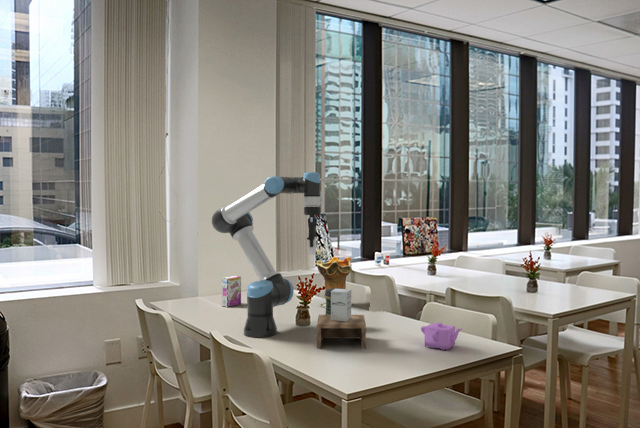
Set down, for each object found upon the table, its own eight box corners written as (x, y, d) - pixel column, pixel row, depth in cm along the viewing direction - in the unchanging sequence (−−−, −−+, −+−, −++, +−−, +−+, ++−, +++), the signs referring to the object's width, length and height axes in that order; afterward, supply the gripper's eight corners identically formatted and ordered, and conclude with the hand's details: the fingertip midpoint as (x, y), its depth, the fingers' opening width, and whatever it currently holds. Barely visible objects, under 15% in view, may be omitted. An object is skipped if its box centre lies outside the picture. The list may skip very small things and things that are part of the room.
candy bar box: (227, 307, 307) (227, 278, 307) (221, 306, 310) (221, 277, 310) (241, 304, 316) (241, 276, 316) (235, 303, 319) (235, 275, 319)
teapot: (467, 347, 225) (467, 322, 225) (457, 355, 214) (457, 329, 213) (426, 341, 235) (426, 317, 235) (414, 348, 223) (414, 324, 223)
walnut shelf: (317, 348, 224) (316, 324, 224) (318, 337, 242) (318, 314, 242) (365, 348, 224) (365, 324, 223) (364, 337, 242) (363, 314, 241)
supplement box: (330, 320, 230) (330, 291, 230) (335, 317, 237) (335, 288, 237) (347, 322, 228) (346, 291, 227) (351, 318, 235) (351, 289, 234)
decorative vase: (309, 307, 304) (310, 257, 304) (325, 302, 325) (326, 255, 325) (344, 310, 296) (345, 259, 296) (358, 304, 317) (359, 256, 317)
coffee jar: (330, 329, 255) (330, 290, 255) (322, 326, 262) (322, 287, 261) (348, 327, 260) (348, 288, 259) (339, 323, 267) (339, 286, 266)
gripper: (319, 206, 236) (319, 255, 237) (321, 205, 261) (321, 249, 261) (302, 206, 236) (302, 255, 237) (305, 205, 261) (306, 249, 262)
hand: (312, 252), depth 249 cm, fingers open, 13 cm apart
